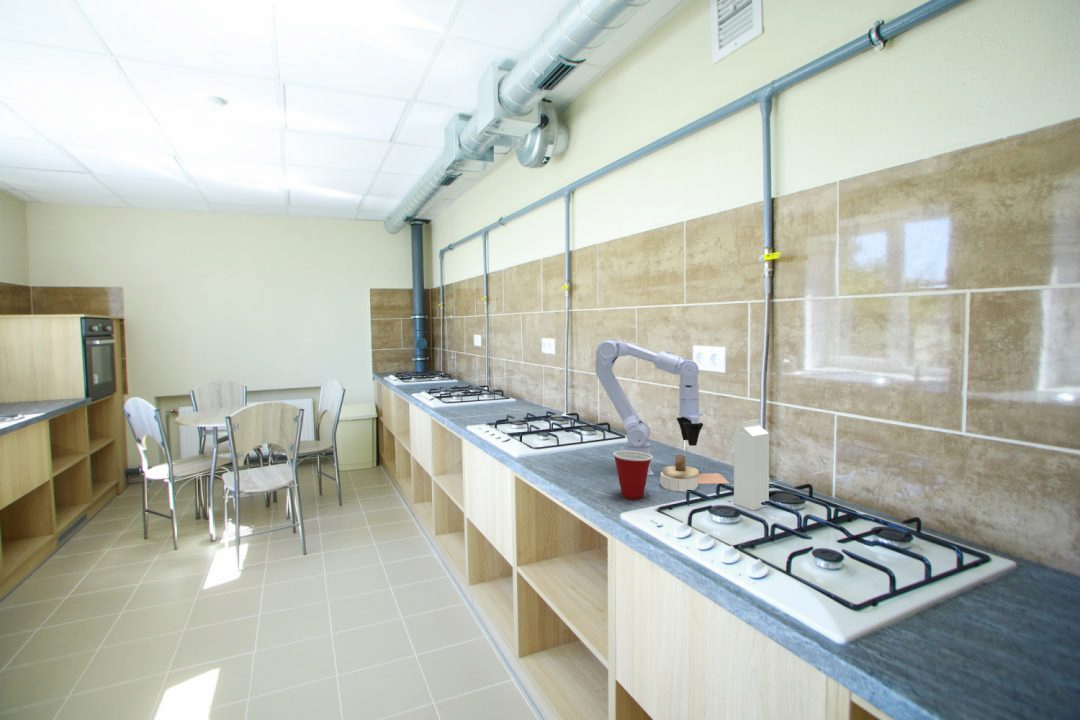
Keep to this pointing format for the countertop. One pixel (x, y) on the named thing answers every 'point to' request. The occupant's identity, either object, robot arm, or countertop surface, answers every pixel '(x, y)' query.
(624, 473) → the plastic cup
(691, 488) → the bowl
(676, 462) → the lid
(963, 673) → the countertop surface
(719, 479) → the mat
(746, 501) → the milk
